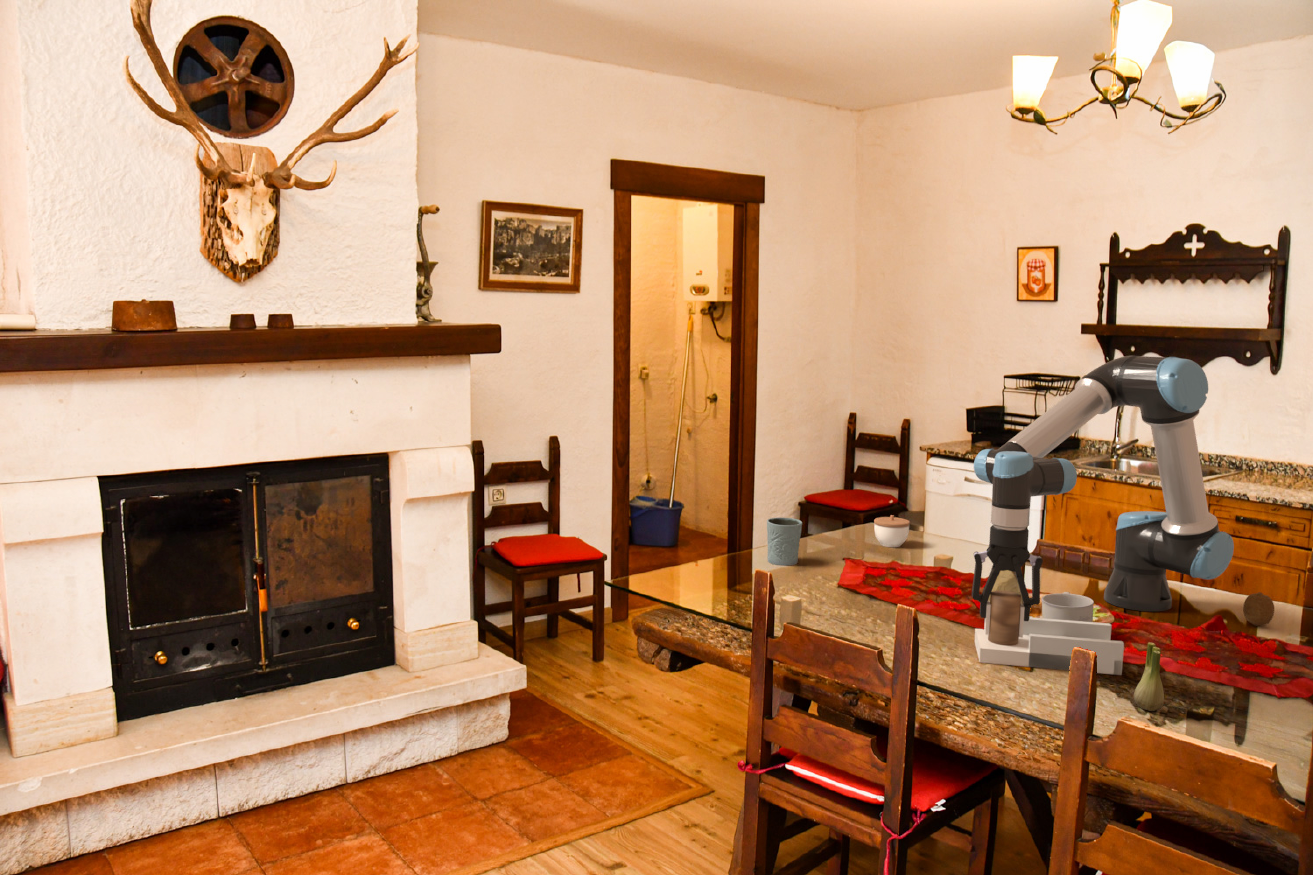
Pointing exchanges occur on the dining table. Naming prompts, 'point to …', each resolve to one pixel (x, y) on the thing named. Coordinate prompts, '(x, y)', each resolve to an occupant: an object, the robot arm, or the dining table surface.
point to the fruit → (1258, 609)
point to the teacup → (1067, 607)
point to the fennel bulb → (1150, 682)
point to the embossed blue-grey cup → (783, 540)
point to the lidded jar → (891, 530)
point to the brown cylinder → (1004, 618)
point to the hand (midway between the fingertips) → (1003, 633)
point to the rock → (1007, 583)
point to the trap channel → (1054, 645)
